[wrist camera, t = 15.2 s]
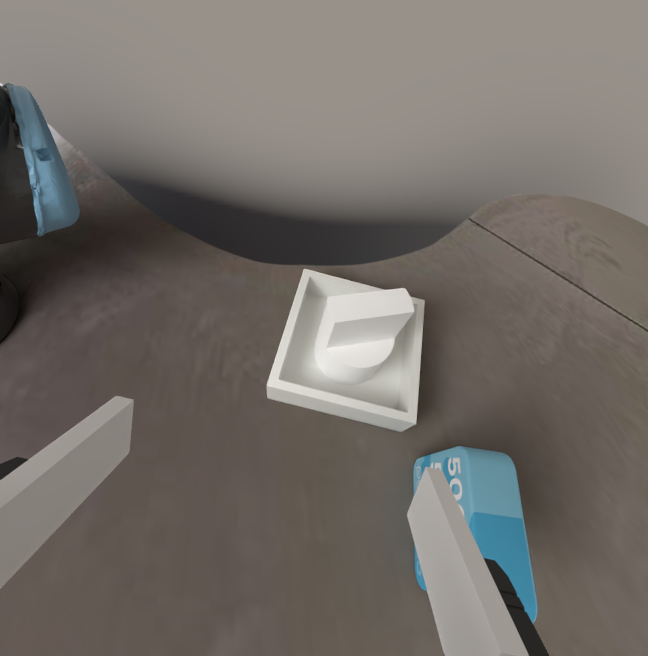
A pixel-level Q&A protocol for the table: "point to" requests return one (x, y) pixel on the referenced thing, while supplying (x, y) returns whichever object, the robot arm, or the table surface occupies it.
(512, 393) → the table surface
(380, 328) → the base with upright slab
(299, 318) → the bin
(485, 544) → the data package
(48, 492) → the robot arm
